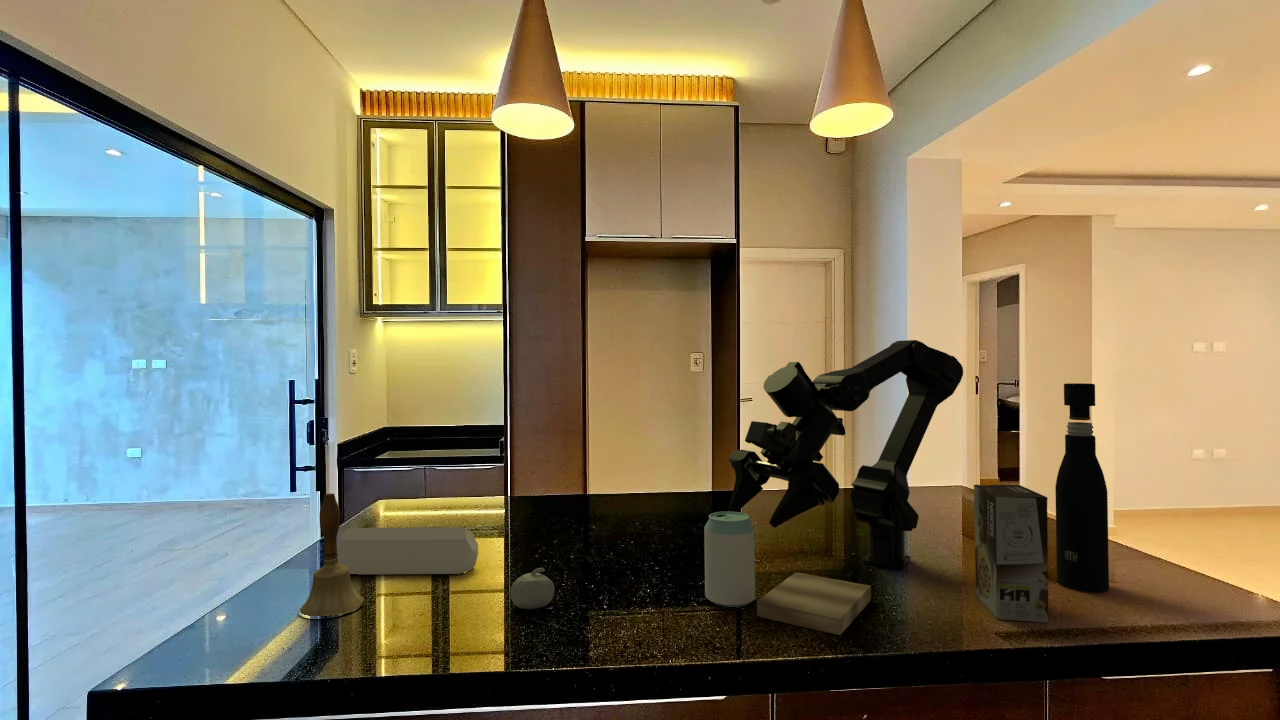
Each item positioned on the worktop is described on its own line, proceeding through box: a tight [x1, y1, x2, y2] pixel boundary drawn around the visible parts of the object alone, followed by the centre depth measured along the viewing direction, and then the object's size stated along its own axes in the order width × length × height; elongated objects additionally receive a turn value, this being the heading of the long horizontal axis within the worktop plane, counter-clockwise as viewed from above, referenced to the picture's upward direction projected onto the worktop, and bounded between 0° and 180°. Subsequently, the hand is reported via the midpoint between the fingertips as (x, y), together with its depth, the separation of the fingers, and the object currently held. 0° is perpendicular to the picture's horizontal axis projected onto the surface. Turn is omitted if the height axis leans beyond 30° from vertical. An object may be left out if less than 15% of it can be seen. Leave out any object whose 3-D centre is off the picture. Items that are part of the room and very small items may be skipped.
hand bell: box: [299, 493, 364, 616], centre depth 89 cm, size 8×8×16 cm
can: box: [703, 511, 756, 608], centre depth 90 cm, size 7×7×12 cm
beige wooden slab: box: [756, 572, 872, 636], centre depth 87 cm, size 14×11×2 cm
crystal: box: [337, 526, 479, 575], centre depth 105 cm, size 7×7×24 cm
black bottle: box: [1054, 382, 1110, 594], centre depth 95 cm, size 6×6×30 cm
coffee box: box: [973, 484, 1049, 624], centre depth 86 cm, size 9×6×16 cm
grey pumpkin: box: [510, 567, 555, 610], centre depth 89 cm, size 6×5×5 cm
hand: (750, 518), depth 92 cm, fingers open, 9 cm apart
